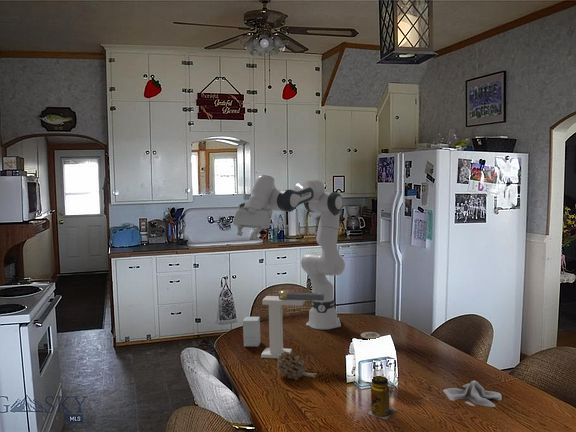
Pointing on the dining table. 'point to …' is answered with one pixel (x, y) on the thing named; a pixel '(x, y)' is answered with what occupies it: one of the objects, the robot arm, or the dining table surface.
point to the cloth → (473, 394)
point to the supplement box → (251, 331)
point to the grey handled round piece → (292, 366)
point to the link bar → (300, 296)
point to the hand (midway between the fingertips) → (246, 236)
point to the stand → (277, 325)
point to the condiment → (380, 398)
